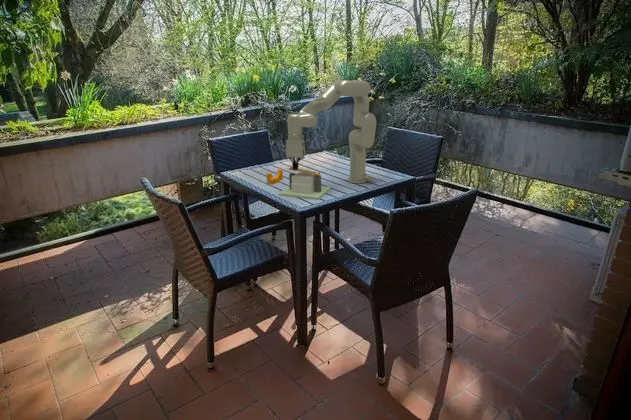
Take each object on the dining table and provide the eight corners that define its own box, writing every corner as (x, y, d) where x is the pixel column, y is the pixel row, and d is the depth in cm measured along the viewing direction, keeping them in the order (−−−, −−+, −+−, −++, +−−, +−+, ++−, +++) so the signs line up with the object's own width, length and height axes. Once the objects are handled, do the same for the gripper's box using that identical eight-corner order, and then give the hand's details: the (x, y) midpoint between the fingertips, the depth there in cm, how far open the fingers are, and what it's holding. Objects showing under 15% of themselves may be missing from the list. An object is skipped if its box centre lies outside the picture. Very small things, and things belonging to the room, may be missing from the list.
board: (330, 189, 247) (330, 171, 243) (318, 199, 229) (318, 181, 226) (293, 185, 255) (293, 168, 252) (279, 195, 238) (278, 177, 234)
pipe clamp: (272, 184, 258) (271, 174, 256) (267, 183, 260) (266, 173, 258) (285, 180, 267) (284, 170, 264) (279, 178, 269) (279, 169, 267)
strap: (320, 174, 238) (320, 171, 237) (317, 176, 233) (317, 174, 233) (292, 168, 243) (292, 165, 243) (288, 170, 239) (288, 168, 238)
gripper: (310, 136, 234) (310, 168, 240) (285, 134, 239) (286, 166, 245) (304, 138, 227) (304, 171, 233) (279, 136, 232) (280, 169, 239)
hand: (295, 168), depth 239 cm, fingers closed
